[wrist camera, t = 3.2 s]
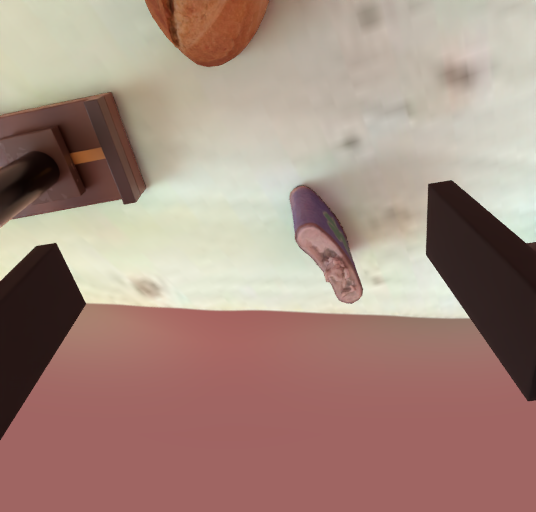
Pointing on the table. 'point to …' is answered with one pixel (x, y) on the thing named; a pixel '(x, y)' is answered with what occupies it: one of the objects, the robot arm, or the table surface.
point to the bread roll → (208, 26)
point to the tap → (36, 171)
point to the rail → (84, 149)
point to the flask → (325, 243)
